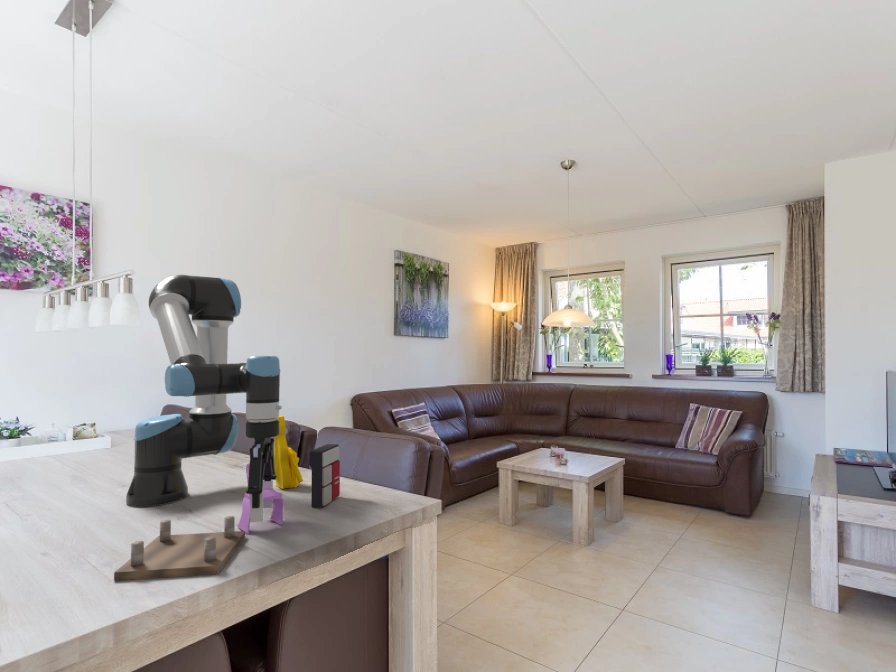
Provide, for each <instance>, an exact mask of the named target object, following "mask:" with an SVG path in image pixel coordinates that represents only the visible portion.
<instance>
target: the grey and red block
mask: <svg viewBox="0 0 896 672" xmlns="http://www.w3.org/2000/svg"><path fill="white" fill-rule="evenodd" d="M339 459H340V446H339V444H335V443H334V444H333V443H332V444H331V443H328V444H324V445H322V446H319V447H317V448H314V449H312V450H309V467H310V469H311V502H310V503H311V508H315V509H317V508H318V509H322V508H324V507H326V506H327V505H328V504H330V503H331V502H333V501H334V500H335V498H336V499H337V498H338V497H339V496H340V495H341V491H340V490H341V487H340V486H341V483H340V482H341V470H340V469H341V467H340V466H341V463H340V462H341V461H340V460H339Z"/></svg>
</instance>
